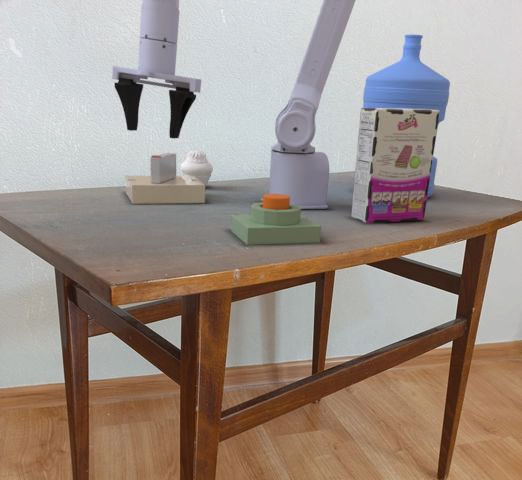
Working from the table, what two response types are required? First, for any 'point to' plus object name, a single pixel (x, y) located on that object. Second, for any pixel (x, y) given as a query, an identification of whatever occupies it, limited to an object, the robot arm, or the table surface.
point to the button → (276, 201)
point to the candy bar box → (393, 164)
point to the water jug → (409, 88)
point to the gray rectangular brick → (163, 167)
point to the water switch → (275, 226)
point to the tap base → (164, 190)
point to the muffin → (197, 166)
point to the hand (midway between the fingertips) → (152, 134)
